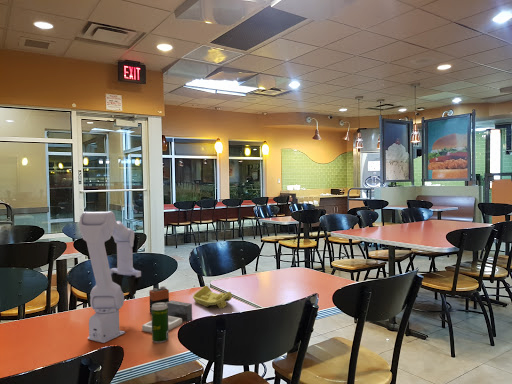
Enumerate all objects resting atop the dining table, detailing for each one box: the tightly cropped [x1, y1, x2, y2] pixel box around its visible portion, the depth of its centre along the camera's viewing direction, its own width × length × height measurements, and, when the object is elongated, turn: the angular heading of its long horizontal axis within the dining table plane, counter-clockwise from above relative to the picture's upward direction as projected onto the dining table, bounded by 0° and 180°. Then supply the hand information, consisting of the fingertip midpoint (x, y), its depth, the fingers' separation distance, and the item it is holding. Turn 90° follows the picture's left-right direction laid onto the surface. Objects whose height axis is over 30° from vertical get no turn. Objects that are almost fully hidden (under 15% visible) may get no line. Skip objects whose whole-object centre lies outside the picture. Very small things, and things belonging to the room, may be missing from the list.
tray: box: [141, 316, 183, 334], centre depth 140 cm, size 12×9×2 cm
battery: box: [148, 285, 170, 314], centre depth 156 cm, size 4×7×10 cm, turn 126°
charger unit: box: [166, 300, 193, 323], centre depth 149 cm, size 3×10×6 cm, turn 63°
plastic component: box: [192, 285, 233, 309], centre depth 165 cm, size 20×7×10 cm
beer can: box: [151, 302, 170, 344], centre depth 128 cm, size 5×5×12 cm
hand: (125, 293), depth 151 cm, fingers open, 7 cm apart
